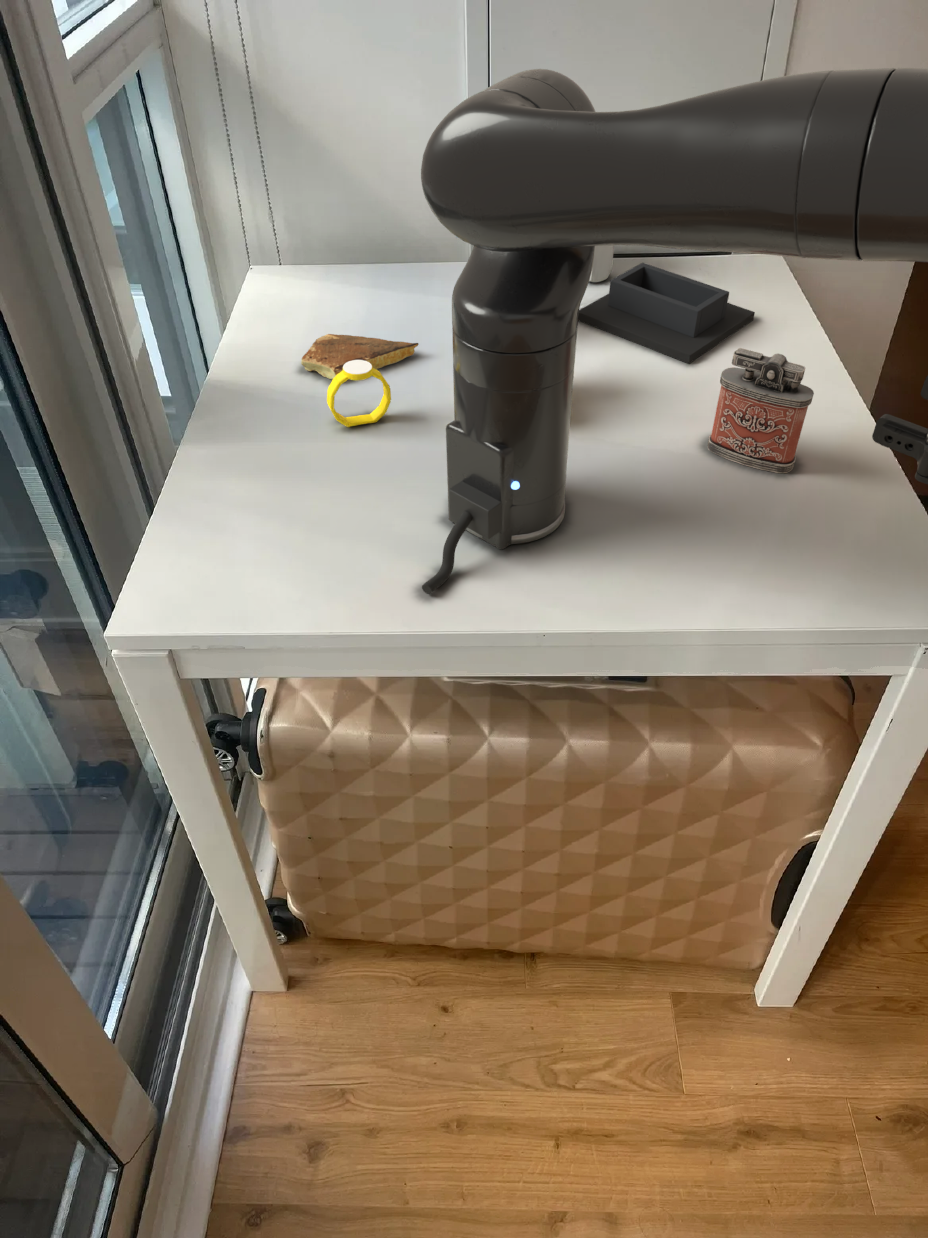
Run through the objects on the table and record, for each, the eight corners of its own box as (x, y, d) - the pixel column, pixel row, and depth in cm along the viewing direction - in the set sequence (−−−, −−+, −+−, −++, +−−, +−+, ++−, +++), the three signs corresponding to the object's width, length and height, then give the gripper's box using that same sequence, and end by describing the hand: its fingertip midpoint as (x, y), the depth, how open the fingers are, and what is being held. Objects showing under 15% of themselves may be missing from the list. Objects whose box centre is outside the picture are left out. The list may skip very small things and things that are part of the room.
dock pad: (688, 363, 99) (694, 328, 96) (575, 319, 106) (578, 285, 104) (753, 320, 106) (760, 285, 103) (642, 281, 113) (646, 248, 110)
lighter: (798, 459, 86) (826, 360, 79) (786, 478, 84) (814, 377, 77) (715, 434, 89) (734, 336, 82) (701, 451, 87) (720, 353, 80)
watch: (335, 435, 90) (328, 380, 86) (327, 421, 92) (320, 365, 88) (395, 422, 92) (390, 367, 87) (386, 408, 93) (382, 353, 89)
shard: (419, 355, 101) (418, 340, 100) (397, 391, 96) (396, 376, 94) (324, 344, 103) (322, 328, 102) (298, 379, 98) (295, 363, 97)
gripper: (1180, 396, 67) (954, 327, 75) (1115, 485, 60) (873, 397, 68) (1131, 483, 72) (925, 409, 81) (1065, 574, 65) (846, 483, 73)
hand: (901, 404), depth 74 cm, fingers open, 8 cm apart
